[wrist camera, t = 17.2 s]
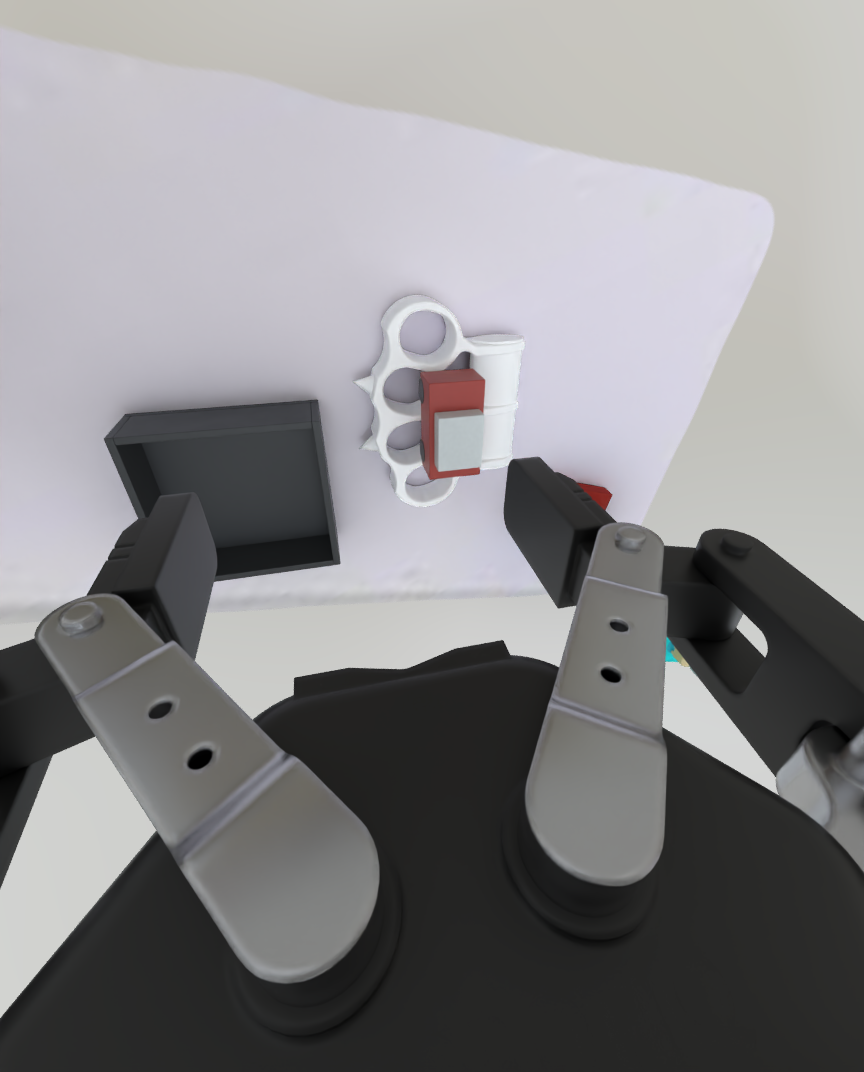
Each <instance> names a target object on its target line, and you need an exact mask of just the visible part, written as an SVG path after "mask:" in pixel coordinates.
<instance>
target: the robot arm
mask: <svg viewBox="0 0 864 1072" xmlns="http://www.w3.org/2000/svg"><path fill="white" fill-rule="evenodd" d="M504 520H505V525H506V528H507V530H508V532H509V533H510V535H511V536H512V538H513V540H514V541H515V543H516V544H517V546H518V547H519V549H520V550H521V552H522V553H523V555H524V557H525V558H526V560H527V561H528V563H529V564H530V566H531V567H532V569H533V570H534V572H535V574H536V575H537V577H538V578H539V580H540V581H541V583H542V584H543V586H544V588H545V589H546V591H547V592H548V594H549V595H550V597H551V598H552V600H553V601H554V603H555V605H556V606H557V608H564V607H570V606H576V610H575V614H574V617H573V621H572V624H571V628H570V631H569V635H568V639H567V642H566V646H565V650H564V653H563V656H562V660H561V664H560V667H557V666H555V665H552V664H550V663H547V662H544V661H541V660H538V659H534V658H529V657H523V656H515V655H514V656H513V655H510V654H509V652H508V650H507V647H506V645H505V643H504V641H503V640H501V641H495V642H490V643H484V644H479V645H473V646H468V647H463V648H457V649H454V650H451V651H449V652H446V653H444V654H441V655H439V656H437V657H434V658H432V659H430V660H427V661H425V662H422V663H420V664H418V665H415V666H413V667H410V668H407V669H368V668H346V669H340V670H335V671H329V672H324V673H318V674H312V675H307V676H302V677H296V678H294V695H293V696H291V697H288V698H286V699H284V700H282V701H280V702H278V703H277V704H275V705H273V706H271V707H270V708H268V709H267V710H265V711H264V712H262V713H261V714H259V715H258V716H257V717H256V718H254V719H253V720H252V719H251V718H250V717H249V716H248V715H247V714H246V713H245V712H244V711H243V710H242V709H241V708H240V707H239V706H238V705H237V704H236V703H235V702H234V701H233V700H232V699H231V698H230V697H229V696H228V695H227V694H226V693H225V692H224V690H222V688H221V687H219V685H218V684H217V683H215V681H214V680H213V679H212V678H211V677H210V676H209V675H208V674H207V673H206V672H205V671H204V670H203V669H202V668H201V667H200V666H199V665H198V664H197V663H196V662H195V658H196V653H197V649H198V645H199V641H200V637H201V633H202V629H203V624H204V620H205V616H206V612H207V608H208V604H209V600H210V595H211V591H212V587H213V583H214V579H215V575H216V570H217V553H216V548H215V544H214V541H213V538H212V535H211V532H210V529H209V526H208V523H207V520H206V517H205V514H204V511H203V508H202V505H201V502H200V500H199V498H198V496H197V494H196V493H194V492H192V493H182V494H173V495H163V496H160V497H159V498H158V500H157V502H156V504H155V506H154V508H153V510H152V512H151V514H150V515H149V517H148V518H140V519H138V520H137V521H135V522H134V523H133V524H132V525H130V526H129V527H128V528H127V529H125V530H124V531H123V532H122V534H121V535H120V537H119V539H118V541H117V542H116V544H115V549H113V550H112V551H111V553H110V555H109V557H108V561H106V562H105V564H104V565H103V567H102V569H101V571H100V573H99V574H98V576H97V578H96V580H95V581H94V583H93V585H92V587H91V588H90V590H89V592H88V594H87V596H85V597H81V598H78V599H75V600H73V601H71V602H68V603H66V604H64V605H62V606H61V607H59V608H57V609H56V610H54V611H53V612H52V613H50V614H49V615H48V616H47V617H46V618H44V619H43V621H42V622H41V623H40V624H39V626H38V627H37V629H36V632H35V638H34V639H32V640H29V641H26V642H24V643H20V644H17V645H14V646H12V647H9V648H6V649H3V650H0V888H1V886H2V883H3V881H4V878H5V875H6V873H7V870H8V868H9V865H10V863H11V860H12V857H13V855H14V853H15V850H16V847H17V845H18V842H19V840H20V837H21V835H22V832H23V829H24V827H25V825H26V822H27V819H28V817H29V814H30V812H31V809H32V806H33V804H34V802H35V799H36V797H37V794H38V791H39V788H40V786H41V784H42V781H43V779H44V776H45V774H46V771H47V769H48V766H49V763H50V761H51V758H52V756H53V754H56V753H58V752H60V751H63V750H65V749H67V748H70V747H72V746H74V745H77V744H79V743H81V742H84V741H86V740H88V739H90V738H93V737H95V736H96V738H97V739H98V741H99V742H100V744H101V745H102V747H103V748H104V750H105V752H106V753H107V755H108V756H109V758H110V759H111V761H112V762H113V764H114V765H115V767H116V768H117V770H118V771H119V773H120V775H121V776H122V778H123V779H124V781H125V782H126V784H127V785H128V787H129V789H130V790H131V792H132V793H133V795H134V796H135V798H136V799H137V801H138V802H139V804H140V805H141V807H142V809H143V810H144V811H145V813H146V815H147V816H148V818H149V819H150V821H151V822H152V824H153V825H154V827H155V828H156V830H157V831H156V832H155V833H154V834H153V835H152V836H151V838H150V839H149V840H148V841H147V842H146V844H145V845H144V846H143V847H142V848H141V850H140V851H139V852H138V853H137V855H136V856H135V857H134V858H133V859H132V860H131V862H130V863H129V864H128V865H127V867H126V868H125V869H124V870H123V871H122V873H121V874H120V875H119V876H118V877H117V879H116V880H115V881H114V882H113V883H112V885H111V886H110V887H109V888H108V889H107V891H106V892H105V893H104V894H103V895H102V897H101V898H100V899H99V900H98V901H97V903H96V904H95V905H94V906H93V908H92V909H91V910H90V911H89V912H88V913H87V915H86V916H85V917H84V918H83V919H82V921H81V922H80V923H79V924H78V925H77V927H76V928H75V929H74V931H72V933H71V934H70V935H69V937H68V938H67V939H66V940H65V941H64V942H63V944H62V945H61V946H60V947H59V948H58V949H57V951H56V952H55V953H54V954H53V955H52V957H51V958H50V959H49V960H48V961H47V963H46V964H45V965H44V966H43V967H42V969H41V970H40V971H39V972H38V974H37V975H36V976H35V977H34V978H33V980H32V981H31V982H30V983H29V985H27V987H26V988H25V989H24V990H23V991H22V993H21V994H20V995H19V996H18V997H17V999H16V1000H15V1001H14V1002H13V1003H12V1005H11V1006H10V1007H9V1008H8V1010H7V1011H6V1012H5V1013H4V1014H3V1016H2V1017H1V1018H0V1072H864V621H863V620H861V619H860V618H859V617H858V616H856V615H855V614H854V613H852V612H851V611H850V610H849V609H847V608H846V607H845V606H843V605H842V604H841V603H840V602H838V601H837V600H836V599H834V598H833V597H832V596H831V595H829V594H828V593H827V592H825V591H824V590H823V589H821V588H820V587H819V586H818V585H816V584H815V583H814V582H813V581H811V580H810V579H809V578H807V577H806V576H805V575H804V574H802V573H801V572H800V571H798V570H797V569H796V568H794V567H793V566H792V565H791V564H789V563H788V562H787V561H786V560H784V559H783V558H782V557H780V556H779V555H778V554H776V553H775V552H774V551H773V550H771V549H770V548H769V547H768V546H766V545H765V544H764V543H762V542H760V541H759V540H758V539H756V538H754V537H752V536H750V535H747V534H744V533H741V532H738V531H734V530H728V529H712V530H708V531H705V532H704V533H703V534H702V535H701V537H700V539H699V542H698V544H697V547H696V548H689V547H675V546H664V543H663V541H662V540H661V538H660V537H659V536H658V535H657V534H655V533H654V532H652V531H651V530H649V529H647V528H645V527H642V526H639V525H635V524H631V523H622V522H620V523H617V522H616V521H615V520H614V519H613V518H612V517H611V516H610V515H609V514H608V513H607V512H606V511H605V510H604V509H603V508H602V507H601V506H600V505H599V504H598V503H597V502H596V501H595V500H592V497H591V496H590V495H589V494H588V493H587V492H584V489H582V488H581V487H580V486H579V485H578V484H577V483H576V482H575V481H574V480H573V479H571V478H569V477H567V476H565V475H563V474H561V473H559V472H554V471H553V470H552V469H551V468H550V467H549V466H548V465H547V464H546V463H545V462H544V461H543V460H542V459H541V458H540V457H531V458H522V459H513V460H511V461H510V463H509V466H508V472H507V482H506V492H505V502H504ZM743 613H744V614H745V615H746V616H747V617H748V618H749V619H750V620H751V621H752V622H753V623H754V624H755V625H756V626H757V627H758V628H759V629H760V630H761V631H762V633H763V634H764V636H765V638H766V641H767V645H768V653H767V655H766V657H764V656H763V655H762V654H761V653H760V652H759V651H758V650H757V649H756V648H755V647H754V646H753V645H752V644H751V643H750V642H749V641H748V639H747V638H746V637H744V635H743V634H742V633H741V632H740V631H739V630H738V629H737V628H736V626H737V625H738V623H739V621H740V619H741V617H742V615H743ZM667 637H668V639H669V640H670V641H671V643H672V644H673V645H674V647H675V648H676V649H677V650H678V652H679V653H680V654H681V656H682V657H683V658H684V659H685V661H686V662H687V663H688V665H689V666H690V667H691V668H692V670H693V671H694V672H695V674H696V675H697V676H698V678H699V679H700V680H701V681H702V682H703V684H704V685H705V686H706V688H707V689H708V690H709V692H710V693H711V694H712V696H713V697H714V698H715V699H716V700H717V702H718V703H719V704H720V706H721V707H722V708H723V710H724V711H725V712H726V714H727V715H728V716H729V718H730V719H731V720H732V721H733V723H734V724H735V725H736V727H737V728H738V729H739V730H740V732H741V733H742V734H743V736H745V738H746V739H747V741H748V742H749V743H750V745H751V746H752V747H753V748H754V750H755V751H756V752H757V754H758V755H759V756H760V758H761V759H762V760H763V761H764V762H765V764H766V765H767V766H768V768H769V769H770V770H771V772H772V773H773V774H774V775H775V777H776V787H777V791H778V794H779V795H777V794H775V793H774V792H772V791H770V790H768V789H767V788H765V787H764V786H762V785H760V784H758V783H757V782H755V781H753V780H751V779H750V778H748V777H746V776H745V775H743V774H741V773H740V772H738V771H736V770H735V769H733V768H731V767H729V766H728V765H726V764H724V763H723V762H721V761H719V760H717V759H716V758H714V757H712V756H711V755H709V754H707V753H705V752H704V751H702V750H700V749H699V748H697V747H695V746H693V745H692V744H690V743H688V742H686V741H685V740H683V739H682V738H680V737H678V736H676V735H675V734H673V733H671V732H670V731H668V730H666V729H665V728H663V727H662V719H663V698H664V679H665V658H666V638H667Z"/></svg>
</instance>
